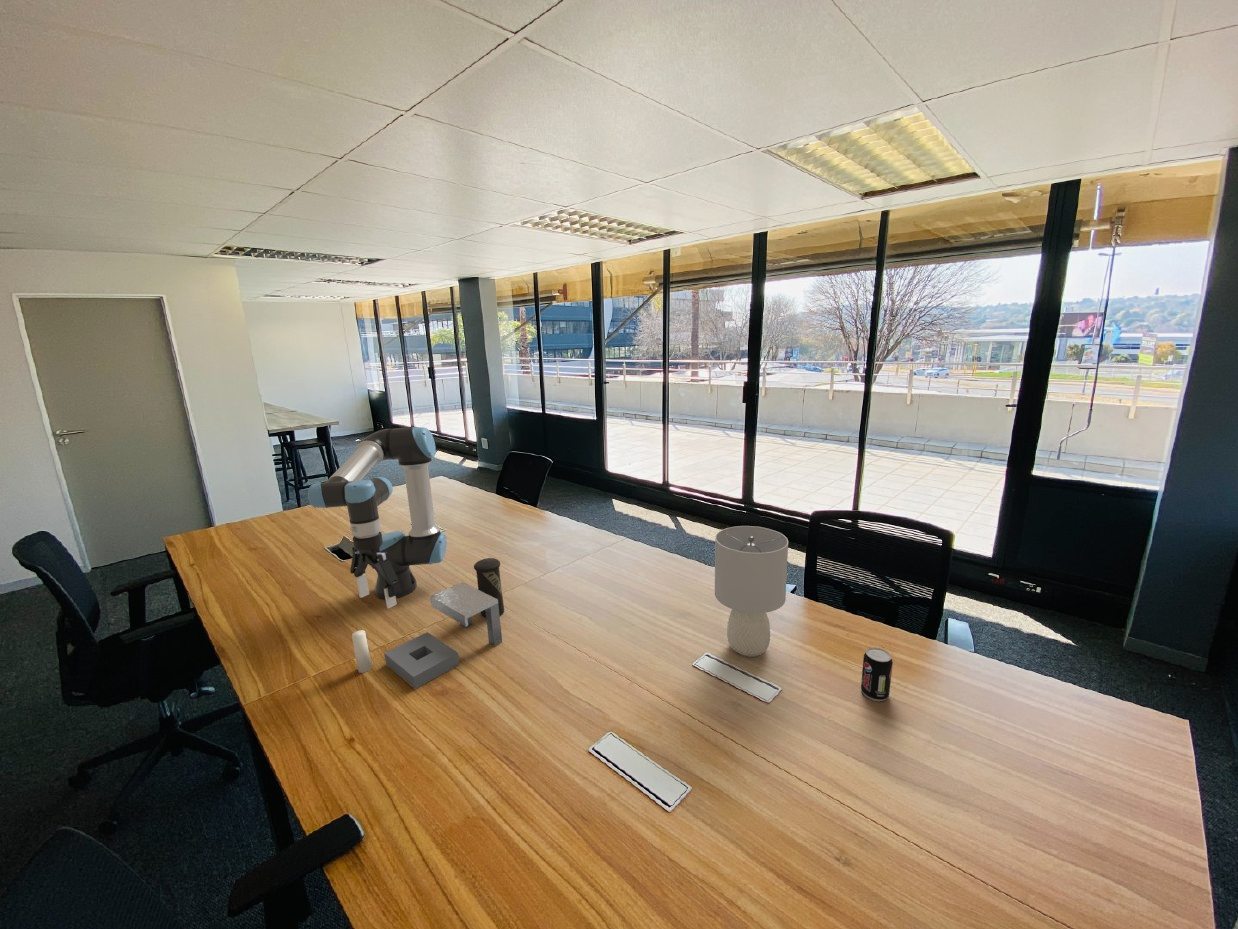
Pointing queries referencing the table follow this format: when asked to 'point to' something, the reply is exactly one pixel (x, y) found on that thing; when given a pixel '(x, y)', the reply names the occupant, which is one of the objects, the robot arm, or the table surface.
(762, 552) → the lamp
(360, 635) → the peg
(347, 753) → the table surface
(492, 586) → the container
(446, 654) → the socket block
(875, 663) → the beverage can
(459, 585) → the grey legged flat piece
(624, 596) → the table surface
